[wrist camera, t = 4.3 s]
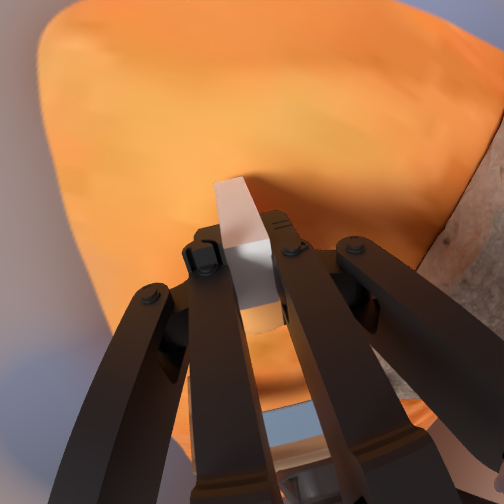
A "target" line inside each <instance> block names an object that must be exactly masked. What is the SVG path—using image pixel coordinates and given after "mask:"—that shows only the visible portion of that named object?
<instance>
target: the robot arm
mask: <svg viewBox="0 0 504 504" xmlns="http://www.w3.org/2000/svg"><path fill="white" fill-rule="evenodd" d="M214 189H215V196H216V203H217V210H218V217H219V224H217V225H213V226H209V227H205V228H201V229H198V230H197V232H196V233H195V235H194V241H192V242H191V243H189V244H187V245H186V246H185V247H184V248H183V251H182V256H183V259H184V261H185V264H186V267H187V270H188V273H189V278H188V279H187V280H186V281H185V282H184V283H182V284H180V285H178V286H176V287H174V288H172V289H170V290H169V288H168V286H167V285H165V284H163V283H152V284H149V285H146V286H144V287H142V288H141V289H140V290H138V291H137V292H136V293H135V295H134V296H133V298H132V300H131V302H130V304H129V305H128V307H127V309H126V311H125V313H124V315H123V317H122V319H121V321H120V323H119V325H118V327H117V329H116V331H115V334H114V336H113V338H112V340H111V342H110V344H109V346H108V348H107V350H106V352H105V355H104V357H103V359H102V361H101V363H100V365H99V368H98V370H97V372H96V375H95V377H94V379H93V381H92V384H91V386H90V388H89V391H88V393H87V395H86V398H85V400H84V403H83V405H82V407H81V410H80V412H79V415H78V417H77V420H76V422H75V425H74V428H73V430H72V433H71V436H70V438H69V441H68V443H67V446H66V449H65V452H64V455H63V457H62V460H61V463H60V466H59V469H58V472H57V475H56V478H55V481H54V484H53V488H52V491H51V494H50V498H49V501H48V504H156V502H157V497H158V492H159V488H160V483H161V478H162V474H163V469H164V465H165V460H166V456H167V452H168V447H169V443H170V438H171V434H172V430H173V426H174V422H175V418H176V413H177V409H178V405H179V401H180V397H181V393H182V389H183V385H184V381H185V377H186V373H187V369H188V365H189V363H190V389H191V409H192V425H193V440H194V452H195V464H196V474H197V482H196V486H195V487H194V488H193V490H192V492H191V497H190V504H284V503H283V500H282V496H281V493H280V489H281V491H282V492H283V494H284V495H285V497H286V498H287V500H288V501H289V503H290V504H497V503H495V502H492V501H489V500H486V499H483V498H480V497H478V496H475V495H472V494H470V493H467V492H465V491H462V490H459V489H457V488H455V486H454V483H453V481H452V479H451V477H450V475H449V472H448V470H447V468H446V466H445V464H444V462H443V460H442V457H441V455H440V453H439V451H438V449H437V447H436V445H435V443H434V441H433V439H432V438H431V436H430V435H429V433H428V432H427V431H426V430H424V429H423V428H420V427H416V426H414V425H413V424H412V423H411V421H410V420H409V418H408V416H407V414H406V412H405V410H404V408H403V406H402V404H401V402H400V400H399V398H398V396H397V394H396V392H395V390H394V389H393V387H392V385H391V383H390V381H389V379H388V377H387V375H386V373H385V371H384V370H383V368H382V366H381V364H380V362H379V360H378V358H377V357H376V355H375V353H374V351H373V349H372V347H373V348H374V349H375V350H376V351H377V352H378V353H379V354H380V356H381V357H382V358H383V359H384V360H385V361H386V362H387V363H388V364H389V365H390V366H391V367H392V368H393V369H394V370H395V371H396V372H397V374H398V375H399V376H400V377H401V378H402V379H403V380H404V381H405V382H406V383H407V384H408V385H409V386H410V387H411V388H412V390H413V391H414V392H415V393H416V394H417V395H418V396H419V397H420V398H421V399H422V400H423V401H424V402H425V404H426V405H427V406H428V407H429V408H430V409H431V410H432V411H433V412H434V413H435V414H436V415H437V417H438V418H439V419H440V420H441V421H442V422H443V423H444V424H445V425H446V426H447V427H448V429H449V430H450V431H451V432H452V433H453V434H454V435H455V436H456V437H457V438H458V440H459V441H460V442H461V443H462V444H463V445H464V446H465V447H466V448H467V450H468V451H469V452H470V453H471V454H473V455H474V456H475V457H476V458H477V459H478V460H479V461H480V462H481V463H483V464H484V465H486V466H487V467H488V468H490V469H492V470H493V471H495V472H497V473H499V475H498V476H497V478H496V479H495V482H494V488H495V490H496V491H497V492H503V493H504V340H502V339H501V338H500V337H499V336H498V335H497V334H495V333H494V332H493V331H492V330H491V329H489V328H488V327H487V326H486V325H485V324H483V323H482V322H481V321H480V320H478V319H477V318H476V317H475V316H473V315H472V314H471V313H470V312H468V311H467V310H466V309H465V308H463V307H462V306H461V305H460V304H458V303H457V302H456V301H454V300H453V299H452V298H451V297H449V296H448V295H447V294H445V293H444V292H443V291H441V290H440V289H439V288H437V287H436V286H435V285H433V284H432V283H431V282H429V281H428V280H427V279H425V278H424V277H422V276H421V275H420V274H418V273H417V272H416V271H414V270H413V269H411V268H410V267H409V266H407V265H406V264H404V263H403V262H402V261H400V260H399V259H397V258H396V257H394V256H393V255H392V254H390V253H389V252H387V251H386V250H384V249H383V248H381V247H380V246H378V245H377V244H375V243H374V242H372V241H371V240H369V239H367V238H365V237H360V236H350V237H346V238H343V239H341V240H340V241H338V243H337V244H336V250H316V249H314V248H313V247H312V245H311V244H310V243H309V242H308V241H305V240H302V239H301V238H300V236H299V235H298V233H297V231H296V230H295V228H294V226H293V225H292V223H291V221H290V220H289V218H288V216H287V215H286V214H285V213H283V212H281V211H279V210H276V211H271V212H266V213H262V214H259V213H258V211H257V208H256V206H255V204H254V201H253V199H252V197H251V194H250V192H249V190H248V188H247V185H246V183H245V181H244V178H243V176H242V177H237V178H232V179H228V180H224V181H219V182H215V183H214ZM278 295H279V296H278ZM279 297H280V301H281V308H282V314H283V321H284V325H286V324H287V327H288V330H289V333H290V336H291V339H292V342H293V345H294V347H295V350H296V353H297V356H298V359H299V362H300V365H301V368H302V371H303V374H304V377H305V380H306V383H307V386H308V389H309V392H310V395H311V398H312V401H313V404H314V407H315V410H316V413H317V416H318V419H319V422H320V425H321V428H322V431H323V434H324V437H325V440H326V443H327V446H328V449H329V452H330V455H331V457H329V458H326V459H322V460H319V461H315V462H312V463H308V464H304V465H300V466H296V467H292V468H288V469H284V470H280V471H278V472H277V473H276V472H275V468H274V463H273V459H272V455H271V450H270V446H269V442H268V437H267V433H266V428H265V424H264V419H263V415H262V410H261V406H260V401H259V396H258V392H257V387H256V382H255V378H254V373H253V368H252V364H251V359H250V354H249V349H248V344H247V339H246V335H245V330H244V325H243V320H242V316H241V313H240V310H244V309H249V308H253V307H257V306H261V305H266V304H270V303H274V302H278V301H279ZM370 345H371V346H372V347H371V346H370ZM279 488H280V489H279Z"/></svg>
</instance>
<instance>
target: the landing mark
mask: <svg viewBox="0 0 504 504" xmlns="http://www.w3.org/2000/svg"><path fill="white" fill-rule="evenodd" d="M262 415H263V419H264V424H265V428H266V433H267V437H268V442H269V446H270V447H274V446H279V445H283V444H287V443H291V442H295V441H299V440H303V439H307V438H310V437H314V436H318V435H321V434H323V431H322V428H321V425H320V422H319V419H318V416H317V413H316V410H315V407H314V404H313V401H312V400H309V401H306V402H302V403H298V404H294V405H291V406H287V407H283V408H278V409H274V410H270V411H265V412H262Z"/></svg>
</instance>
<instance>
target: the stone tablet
mask: <svg viewBox="0 0 504 504" xmlns="http://www.w3.org/2000/svg"><path fill="white" fill-rule="evenodd" d="M416 272H417V273H418V274H420V275H421V276H422V277H424V278H425V279H427V280H428V281H429V282H431V283H432V284H433V285H435V286H436V287H437V288H439V289H440V290H441V291H443V292H444V293H445V294H447V295H448V296H449V297H451V298H452V299H453V300H454V301H456V302H457V303H458V304H460V305H461V306H462V307H463V308H465V309H466V310H467V311H468V312H470V313H471V314H472V315H473V316H475V317H476V318H477V319H478V320H480V321H481V322H482V323H483V324H485V325H486V326H487V327H488V328H489V329H491V330H492V331H493V332H494V333H495V334H497V335H498V336H499V337H500V338H501V339H502V340H504V117H503V120H502V123H501V126H500V128H499V130H498V132H497V133H496V135H495V137H494V139H493V141H492V143H491V145H490V147H489V149H488V151H487V153H486V154H485V156H484V158H483V160H482V161H481V163H480V165H479V167H478V168H477V170H476V172H475V174H474V176H473V177H472V179H471V182H470V183H469V185H468V187H467V188H466V190H465V192H464V194H463V196H462V198H461V200H460V202H459V204H458V205H457V207H456V209H455V211H454V212H453V214H452V216H451V217H450V219H449V220H448V222H447V223H446V227H445V229H444V230H443V231H442V232H441V233H440V234H439V235H438V237H437V238H436V240H435V242H434V243H433V245H432V247H431V248H430V250H429V251H428V253H427V254H426V256H425V258H424V260H423V261H422V263H421V265H420V266H419V268H418V270H417V271H416ZM370 346H371V345H370ZM371 347H372V346H371ZM372 349H373V351H374V353H375V355H376V357H377V358H378V360H379V362H380V364H381V366H382V368H383V370H384V371H385V373H386V375H387V377H388V379H389V381H390V383H391V385H392V387H393V389H394V390H395V392H396V394H397V396H398V398H402V399H411V398H414V399H421V398H420V397H419V396H418V395H417V394H416V393H415V392H414V391H413V390H412V388H411V387H410V386H409V385H408V384H407V383H406V382H405V381H404V380H403V379H402V378H401V377H400V376H399V375H398V374H397V372H396V371H395V370H394V369H393V368H392V367H391V366H390V365H389V364H388V363H387V362H386V361H385V360H384V359H383V358H382V357H381V356H380V354H379V353H378V352H377V351H376V350H375V349H374V348H373V347H372Z"/></svg>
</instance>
